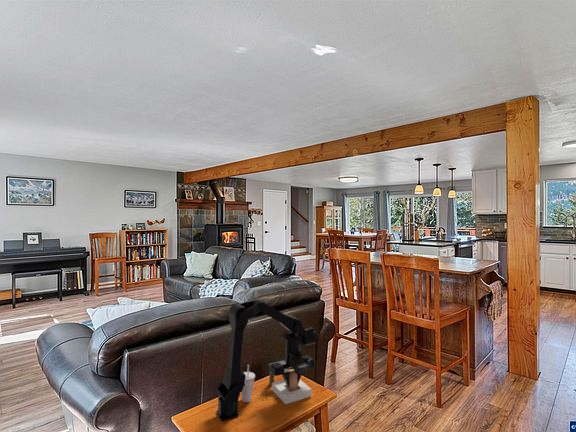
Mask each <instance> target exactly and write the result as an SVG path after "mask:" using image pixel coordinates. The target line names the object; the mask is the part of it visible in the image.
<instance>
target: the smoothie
mask: <svg viewBox="0 0 576 432" xmlns="http://www.w3.org/2000/svg"><path fill="white" fill-rule="evenodd" d="M242 372H243V373H244V374H245V375H246V377H245V386H243V390H242V392H241V393H240V394H241V399H242V402H244V403H249V402H251V401H252V399H253V391H254V384H255V379H256V374H255V373H254V372H252V371H250V364H247V371H242Z"/></svg>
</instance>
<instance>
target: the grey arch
mask: <svg viewBox="0 0 576 432" xmlns="http://www.w3.org/2000/svg"><path fill="white" fill-rule="evenodd" d="M276 362H277V361H276ZM276 362H274V363H276ZM278 362H279V363H280V364H281V365H283V364H286V362H285V361H284V360H280V361H278ZM272 363H273V362H272ZM272 363H269V364H268V366H270V364H272ZM290 369H291V368H289V369H288V370H290ZM268 380H269V385H270V386H272V383H273V382H275V375H274V374H273V373H272V372H271V371H270V370H269V379H268Z"/></svg>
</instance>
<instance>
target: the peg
mask: <svg viewBox="0 0 576 432" xmlns="http://www.w3.org/2000/svg"><path fill="white" fill-rule="evenodd" d="M288 372H289V373H290V375H289V387H288V391H290V392H291V391H294V390H297V374H296V373H295V371H294V369H293V368H292V369H291V368H290V370H288Z"/></svg>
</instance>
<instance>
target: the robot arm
mask: <svg viewBox="0 0 576 432" xmlns="http://www.w3.org/2000/svg"><path fill="white" fill-rule="evenodd" d="M259 313H262V314H264V315H266V316H268V317H269V318H271V319H272V320H273V319H274V320H275V321H276V322H278V323H279V324H280V325H281V326H282V327H284V329H286V330H287V331H285V332H284V333H283V334H282V335H281V339H283V340H285V348H284V353H285V358H283V361H285V362H286V364H283V365H281V364H280V363H279V361H276V363H275V362H272V364H270V363H269V364H270V366H269V365H268V366H269V372H270V371H271V372H272V373H273V374H274V377H279V376H282V378H283V380H285V383H286V386H287V387H289V375H290V373H289V372H288V369H289V368H290V369H291V368H292V369H294V371H295V373H296V374H297V385H298V383H299V381H300V380H301V378H302V375H303V373H304V374H305V373H307V370H308V369H310V368H314V367H316V361H315V359H314V358H313V357H311V356H309V355H304V356H303V355H302V354H303V353H302V350H300V349H301V348H300V346H302V347H305V346H310V345H315V344H317V341H318V337H317V334H316V331H315V328H314V327H311V326H310V327H307V328H305V327H304V326H303V322H302V320H301V319H299V318H297V317H295V316H293V315H290V314H287V313H282V312H281V311H279V310H277V309H276V308H274V307H272V306H271V305H270V304H267V303H266V302H265V301H263V300H261V299H259V298H258V299H257V298H256V299H253V300H250V301H245V302H244V301H243V302H241V303H234V304H232V305H231V306H230V307H229V309H228V320H229V324H230V327H231V328H230V329H231V330H230V340H229V341H230V342H229V343H230V344H229V352H228V353H229V354H228V355H229V356H228V365H227V368H226V370H225V372H224V375H223V378H222V382H221V383H219V385H218V386H217V387H216V392H217V394H218V398H217V400H218V401H217V410H216V413H217V416H218V418H219V419H220V421H221V422H224V421H227V420H230V419H234V418H238V417H239V399H240V395H241V394H242V393H241V392H242V390H243V386H245V377H246V375H245V374H244V373H243V372H244V371H243V370H241V369H242V356H243V345H244V344H243V343H244V332H245V329H246V327H247V325H248V324H249V323H248V322H249V319H251V318H254V317H255V316H257V315H258V314H259ZM288 331H289V333H288Z"/></svg>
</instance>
